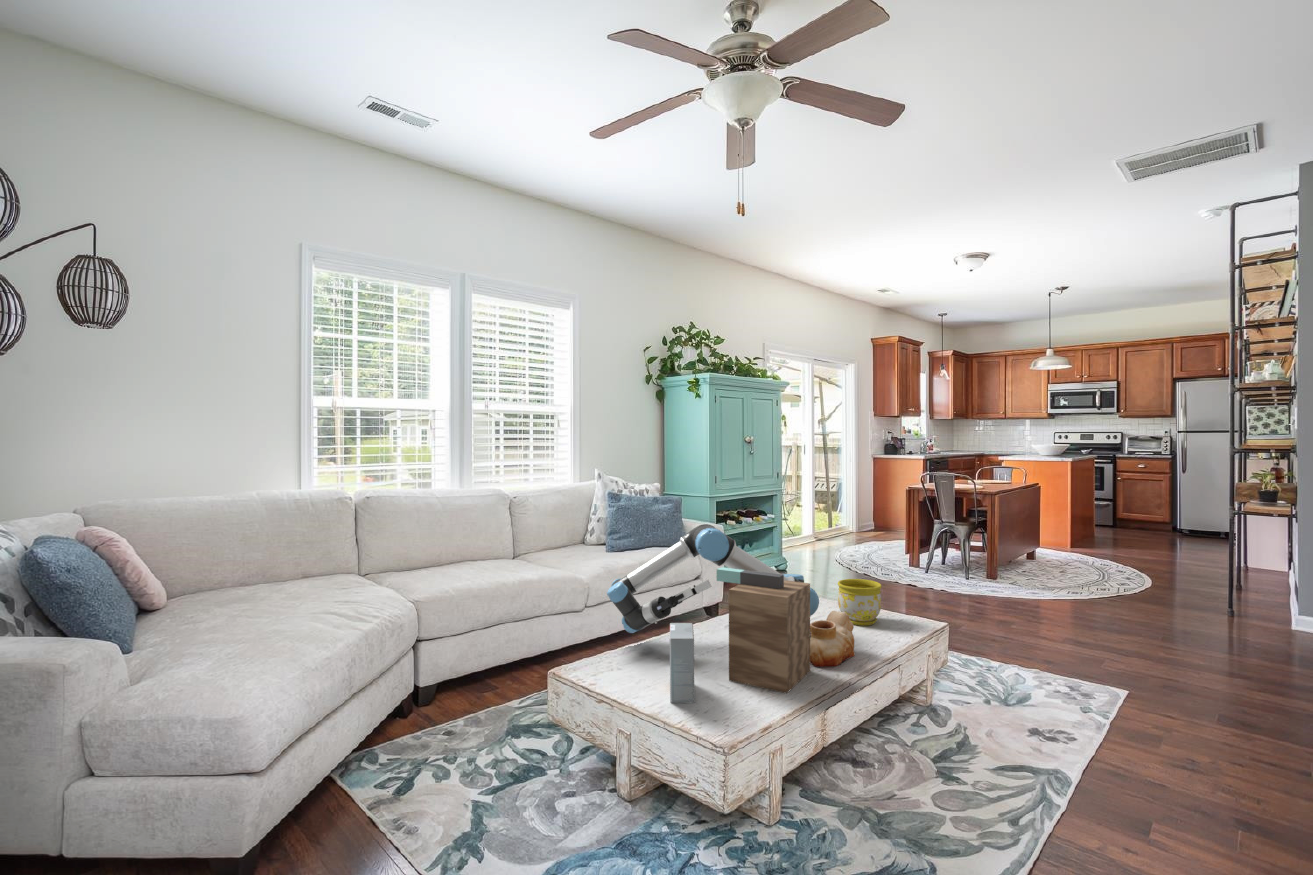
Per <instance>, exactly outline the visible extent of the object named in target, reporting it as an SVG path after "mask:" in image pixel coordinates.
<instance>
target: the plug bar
mask: <svg viewBox="0 0 1313 875" xmlns="http://www.w3.org/2000/svg"><path fill="white" fill-rule="evenodd" d="M782 574H783V573H780V574H774V573H765V572H757V571H749V570H740V569H732V568H729V567H723V566H720V567H719V568H716V582H724V583H730V584H736V585H739V584H744V585H752V586H759V587H767V588H774V589H780V588H782V587H784V575H782Z"/></svg>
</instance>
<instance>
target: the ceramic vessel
mask: <svg viewBox="0 0 1313 875" xmlns="http://www.w3.org/2000/svg"><path fill="white" fill-rule="evenodd" d="M854 626H855V625H853V623H852V622H851V621H850V620H849V616H848V615H847V614H846V613H845V612H841V611H837V610H832V611H829V614H828V615H827V618H826V619H825V620H823V619H822V620H821V619H820V620H815V621H812V622H810V664H812V665H811V666H813V667H817V668H827V667H829V668H830V667H831V668H835V667H839V666H841V665H842V664H843V663H844V662H845V661H846V660H848V659H851V658H853V657H855V651H854V649H855V635H854V634H853V630H854ZM841 663H842V664H841Z"/></svg>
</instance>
